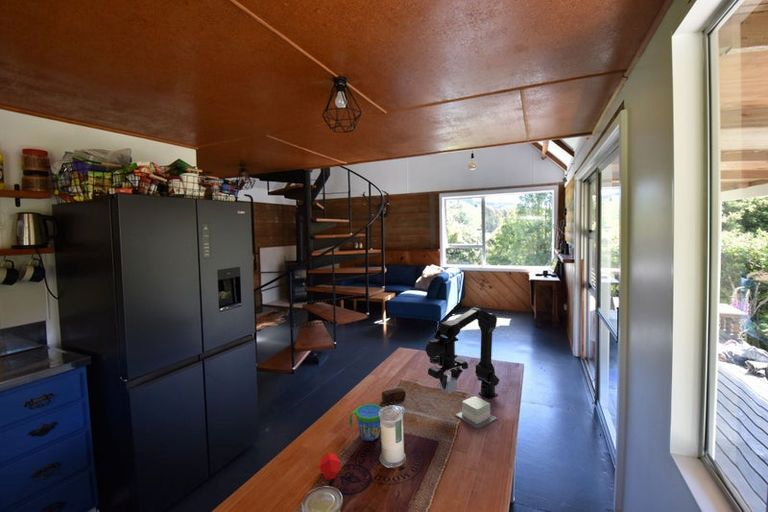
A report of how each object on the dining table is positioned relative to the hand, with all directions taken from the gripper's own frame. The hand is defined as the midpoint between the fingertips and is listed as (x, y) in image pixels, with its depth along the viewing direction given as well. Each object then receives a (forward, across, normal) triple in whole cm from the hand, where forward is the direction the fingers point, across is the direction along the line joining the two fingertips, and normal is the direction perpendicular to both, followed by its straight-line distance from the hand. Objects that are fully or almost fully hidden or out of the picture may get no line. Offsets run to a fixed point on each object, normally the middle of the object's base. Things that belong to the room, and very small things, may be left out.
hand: (448, 387), depth 142 cm
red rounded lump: (+11, +58, +6) cm, 59 cm away
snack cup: (+11, +37, -4) cm, 39 cm away
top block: (+1, 0, 0) cm, 1 cm away
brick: (+11, +14, -22) cm, 28 cm away
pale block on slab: (+11, -6, +10) cm, 16 cm away
